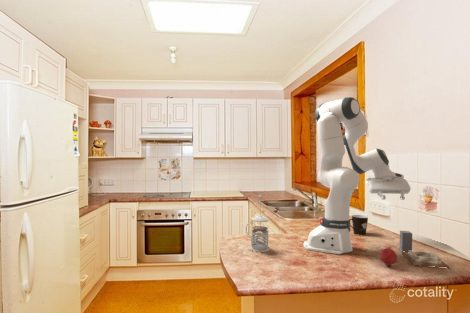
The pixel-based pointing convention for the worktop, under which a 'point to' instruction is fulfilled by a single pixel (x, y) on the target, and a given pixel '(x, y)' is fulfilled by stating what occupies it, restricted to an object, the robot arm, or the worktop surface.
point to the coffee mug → (359, 224)
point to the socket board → (424, 259)
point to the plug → (405, 241)
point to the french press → (259, 234)
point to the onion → (388, 256)
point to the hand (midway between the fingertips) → (393, 198)
